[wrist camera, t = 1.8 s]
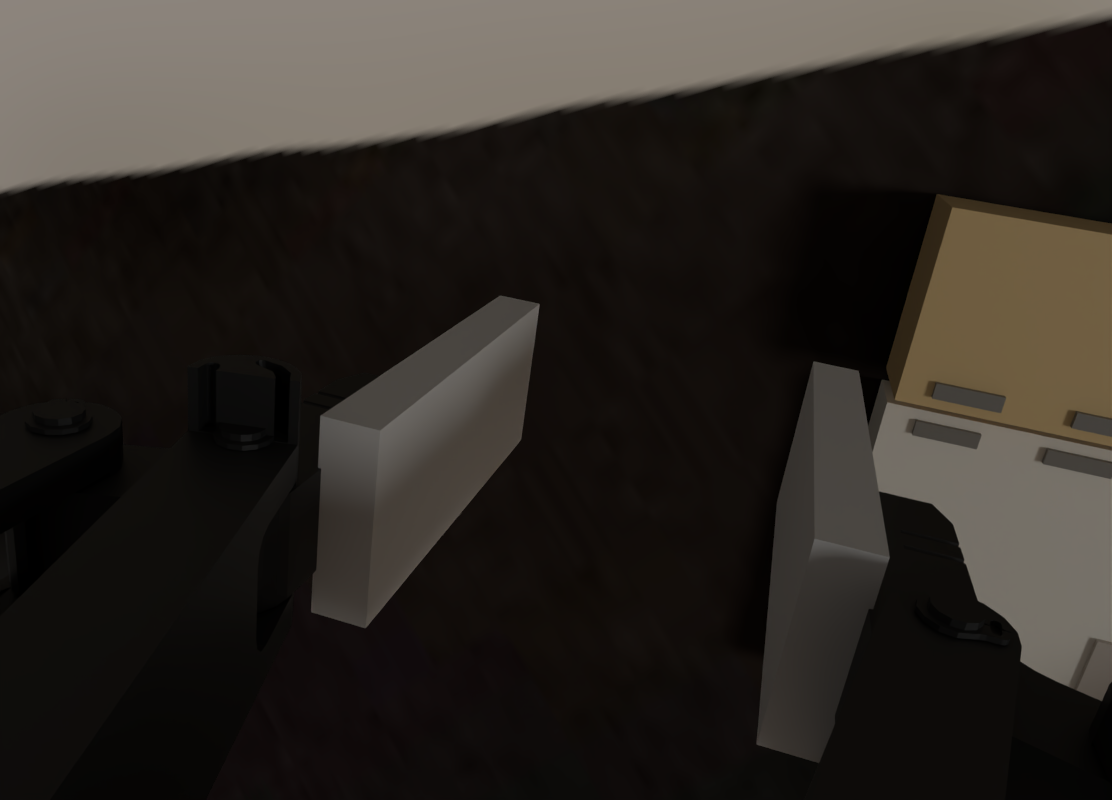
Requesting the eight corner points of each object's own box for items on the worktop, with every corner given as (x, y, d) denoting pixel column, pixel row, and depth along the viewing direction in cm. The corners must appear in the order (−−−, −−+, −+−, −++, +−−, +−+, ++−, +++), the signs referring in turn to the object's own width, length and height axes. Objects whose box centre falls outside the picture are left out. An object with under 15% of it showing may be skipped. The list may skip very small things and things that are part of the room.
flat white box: (800, 658, 36) (799, 700, 33) (882, 379, 31) (887, 404, 29) (1242, 780, 33) (1278, 837, 30) (1401, 488, 28) (1458, 527, 26)
